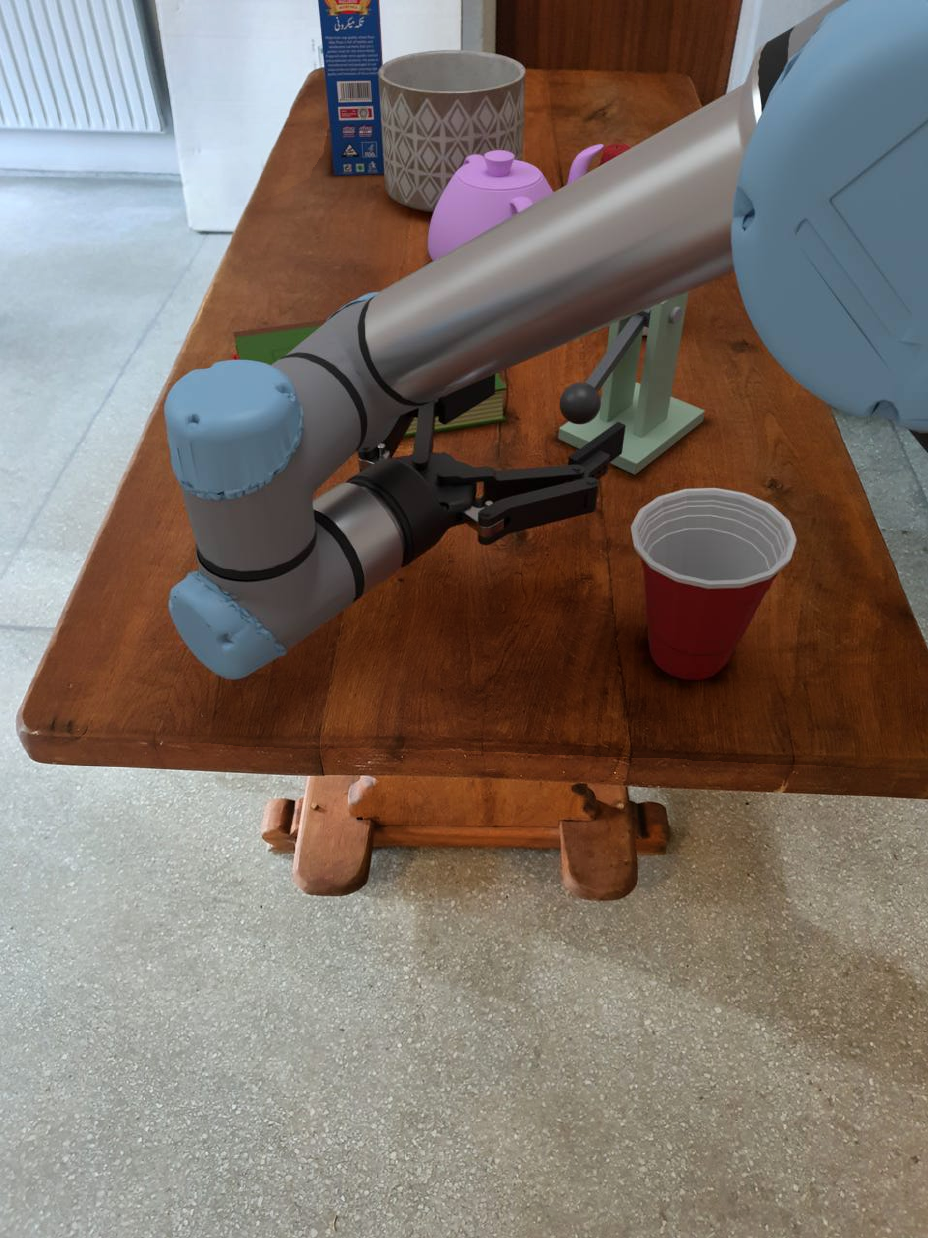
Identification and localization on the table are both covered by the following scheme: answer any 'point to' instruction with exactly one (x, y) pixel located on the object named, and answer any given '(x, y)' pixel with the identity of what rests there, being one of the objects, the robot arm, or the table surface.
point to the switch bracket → (643, 393)
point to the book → (283, 339)
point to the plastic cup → (706, 573)
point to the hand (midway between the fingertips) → (553, 406)
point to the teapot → (490, 196)
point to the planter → (446, 118)
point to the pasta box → (353, 83)
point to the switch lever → (600, 375)
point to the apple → (612, 152)
